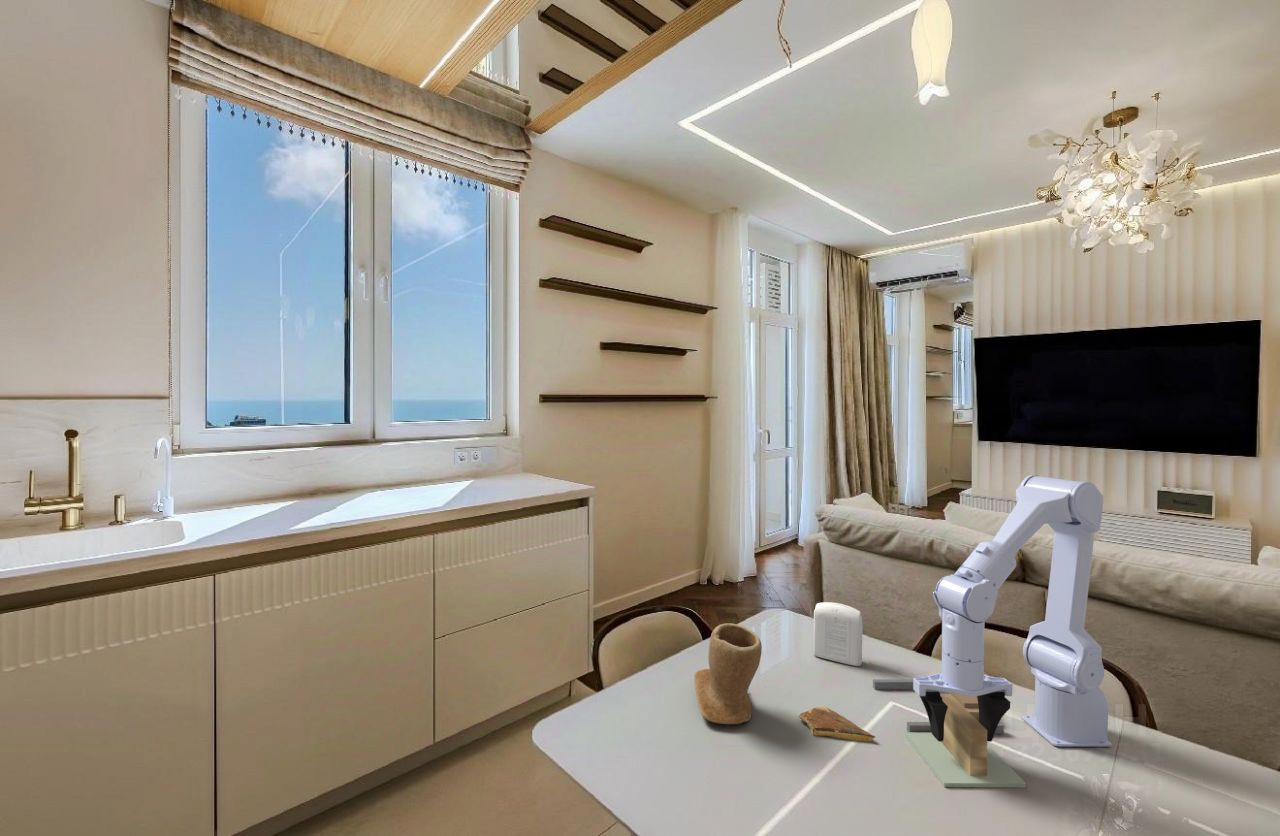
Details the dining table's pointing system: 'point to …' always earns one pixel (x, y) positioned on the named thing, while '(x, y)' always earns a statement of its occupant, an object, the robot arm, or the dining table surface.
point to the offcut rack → (966, 701)
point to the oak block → (965, 738)
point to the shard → (833, 725)
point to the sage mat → (954, 773)
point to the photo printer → (838, 633)
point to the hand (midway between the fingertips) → (961, 737)
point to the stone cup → (728, 675)
